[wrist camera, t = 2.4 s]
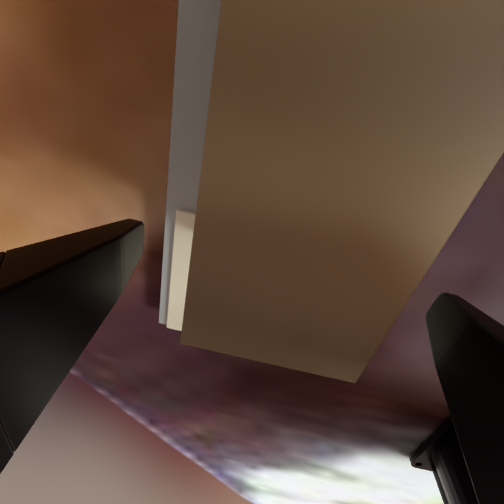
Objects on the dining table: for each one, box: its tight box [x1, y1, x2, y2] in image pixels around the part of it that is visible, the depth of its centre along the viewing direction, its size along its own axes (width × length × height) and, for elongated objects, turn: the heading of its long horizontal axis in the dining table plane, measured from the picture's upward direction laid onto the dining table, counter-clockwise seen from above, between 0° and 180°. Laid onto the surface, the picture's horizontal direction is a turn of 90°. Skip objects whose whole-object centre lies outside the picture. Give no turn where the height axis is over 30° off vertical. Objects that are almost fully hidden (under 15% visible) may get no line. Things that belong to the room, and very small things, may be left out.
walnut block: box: [180, 0, 504, 383], centre depth 7 cm, size 14×5×6 cm, turn 168°
